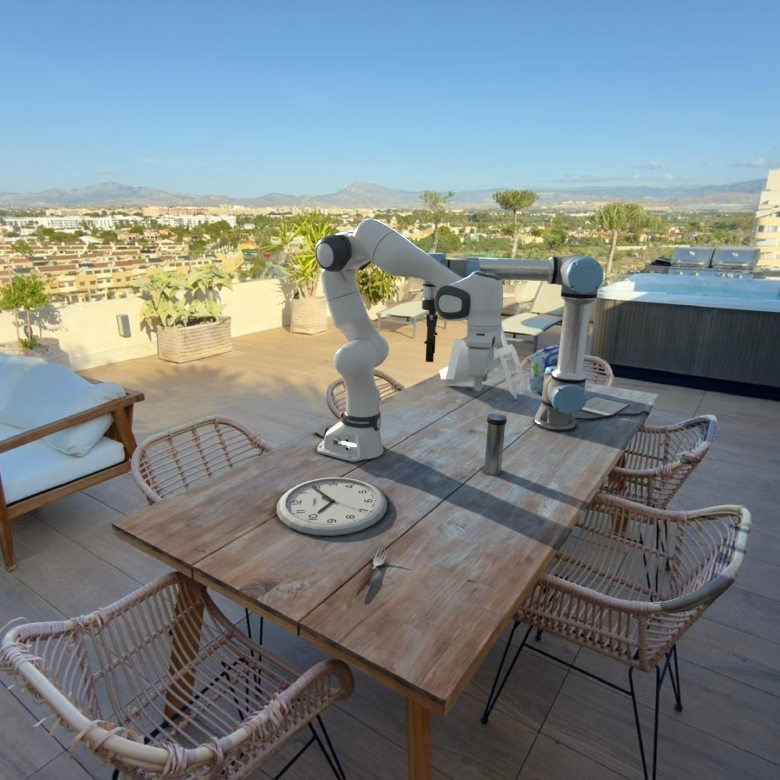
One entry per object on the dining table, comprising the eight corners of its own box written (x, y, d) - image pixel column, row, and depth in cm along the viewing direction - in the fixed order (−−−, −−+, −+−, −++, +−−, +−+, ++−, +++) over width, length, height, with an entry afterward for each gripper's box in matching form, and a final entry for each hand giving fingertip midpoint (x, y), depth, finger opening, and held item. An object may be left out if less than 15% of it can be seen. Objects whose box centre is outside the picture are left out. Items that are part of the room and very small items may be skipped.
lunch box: (546, 398, 236) (551, 353, 229) (525, 393, 243) (529, 349, 237) (573, 387, 253) (579, 344, 247) (553, 382, 260) (558, 341, 254)
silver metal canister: (503, 473, 163) (508, 420, 158) (488, 475, 162) (492, 421, 156) (496, 466, 168) (500, 414, 162) (481, 468, 166) (485, 415, 161)
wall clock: (392, 527, 129) (268, 531, 127) (391, 533, 130) (269, 537, 127) (383, 473, 158) (282, 475, 155) (383, 478, 158) (282, 480, 156)
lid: (509, 424, 158) (510, 419, 157) (492, 426, 156) (492, 420, 156) (500, 418, 163) (501, 413, 163) (484, 419, 162) (484, 414, 161)
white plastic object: (461, 429, 252) (437, 405, 227) (444, 352, 274) (420, 323, 250) (535, 404, 240) (518, 377, 215) (510, 326, 262) (492, 293, 237)
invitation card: (608, 416, 214) (573, 407, 224) (608, 416, 214) (573, 408, 224) (628, 404, 229) (594, 396, 238) (628, 405, 229) (594, 397, 238)
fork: (350, 595, 108) (350, 587, 107) (378, 552, 122) (379, 545, 122) (362, 598, 107) (362, 590, 106) (389, 555, 121) (389, 547, 121)
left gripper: (478, 327, 148) (475, 374, 152) (465, 341, 129) (462, 394, 133) (500, 328, 146) (497, 376, 150) (490, 343, 127) (487, 397, 131)
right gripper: (424, 293, 195) (422, 349, 202) (419, 302, 172) (417, 365, 178) (444, 294, 195) (441, 350, 201) (442, 303, 171) (439, 366, 177)
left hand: (481, 385), depth 141 cm, fingers open, 8 cm apart
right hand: (430, 357), depth 190 cm, fingers open, 13 cm apart
